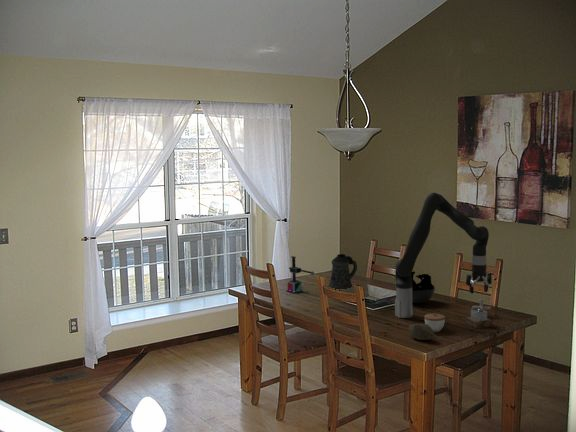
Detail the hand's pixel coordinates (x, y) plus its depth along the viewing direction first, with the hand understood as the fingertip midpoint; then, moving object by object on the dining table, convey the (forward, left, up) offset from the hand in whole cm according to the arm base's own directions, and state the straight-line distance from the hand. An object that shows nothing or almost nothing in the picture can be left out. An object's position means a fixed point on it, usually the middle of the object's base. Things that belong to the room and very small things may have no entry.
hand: (478, 292), depth 345 cm
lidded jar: (-27, 0, -18) cm, 32 cm away
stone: (-40, -11, -18) cm, 46 cm away
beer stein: (-41, +103, -18) cm, 113 cm away
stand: (0, 0, -18) cm, 18 cm away
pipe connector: (+10, +13, -18) cm, 25 cm away
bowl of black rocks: (-9, +53, -18) cm, 57 cm away
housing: (0, 0, -15) cm, 15 cm away
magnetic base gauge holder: (-70, +109, -18) cm, 131 cm away
